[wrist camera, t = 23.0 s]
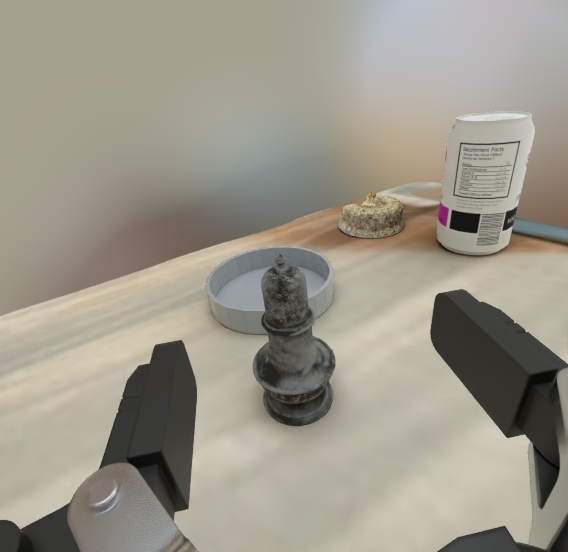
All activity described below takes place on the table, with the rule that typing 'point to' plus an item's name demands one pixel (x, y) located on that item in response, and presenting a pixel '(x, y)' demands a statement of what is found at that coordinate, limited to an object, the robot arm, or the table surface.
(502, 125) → the supplement can
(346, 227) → the cake
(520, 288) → the table surface
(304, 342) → the dark grey chess piece
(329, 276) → the tin
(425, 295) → the table surface
